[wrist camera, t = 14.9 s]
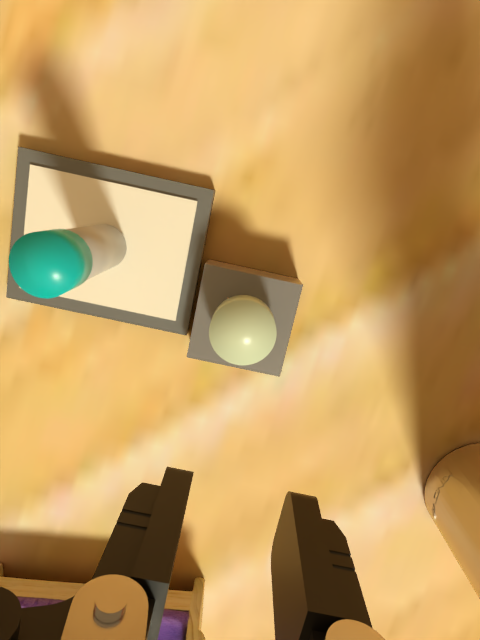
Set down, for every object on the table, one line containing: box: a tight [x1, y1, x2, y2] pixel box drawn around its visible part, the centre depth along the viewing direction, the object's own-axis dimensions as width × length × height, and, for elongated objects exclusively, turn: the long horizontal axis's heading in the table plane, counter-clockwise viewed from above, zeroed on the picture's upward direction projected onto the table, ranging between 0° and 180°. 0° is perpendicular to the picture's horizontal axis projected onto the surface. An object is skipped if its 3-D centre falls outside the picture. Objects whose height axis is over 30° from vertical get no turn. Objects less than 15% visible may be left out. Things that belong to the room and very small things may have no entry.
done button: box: [209, 295, 277, 365], centre depth 30 cm, size 4×4×3 cm
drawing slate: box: [6, 147, 215, 335], centre depth 32 cm, size 14×11×1 cm
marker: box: [9, 224, 127, 299], centre depth 27 cm, size 3×3×10 cm
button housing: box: [187, 259, 303, 377], centre depth 32 cm, size 7×7×3 cm
